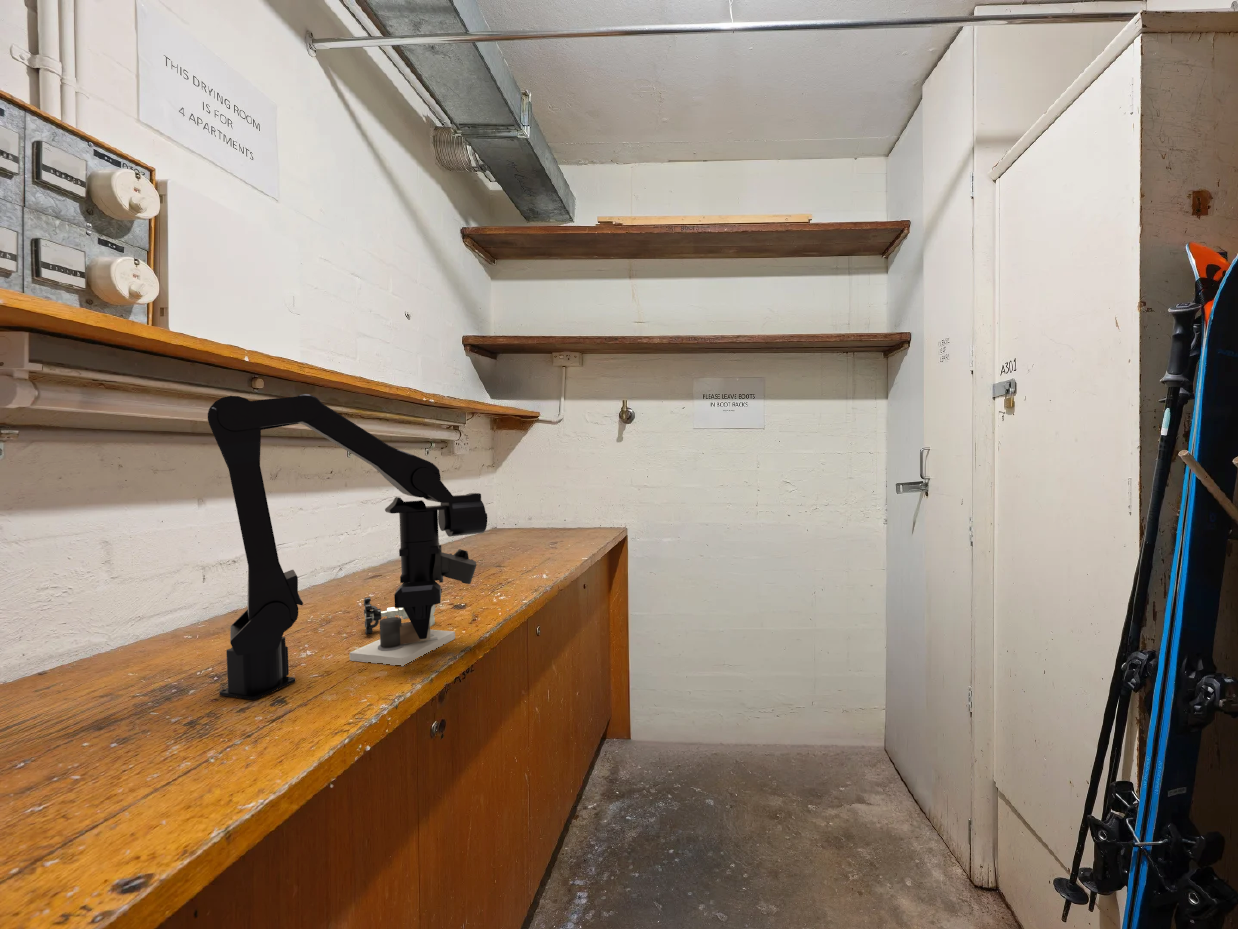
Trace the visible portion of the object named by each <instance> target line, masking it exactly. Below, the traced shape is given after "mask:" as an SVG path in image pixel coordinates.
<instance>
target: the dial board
mask: <svg viewBox="0 0 1238 929" xmlns="http://www.w3.org/2000/svg"><path fill="white" fill-rule="evenodd" d="M430 638H431V639H430V640H424V641H418V642H412V643H406V644H400V645H398V646H394V647H381V646H380V638H379V639H378V640H375V641H372V642H370V643H368V644H366V645H364V646H362V647H361V646H360V647H359V648H357V649H355V650H352V651H350V652H349V654H348V655H349V661H351V662H352V661H353V662H363V663H368V662H371V663H370V664H377V663H383V664H382V665H386V664H390V665H389V666H395V665H401V666H400V667H405V666H406V665H405V664H407V663H409V662H411V661H412V662H414V661H416V660H417V659H416V658H418V657H420V656H422V657H424V656H425V655H424V654H426V653H427V654H429V653H431V652H432V651H431V650H433V651H435V650H437V649H439V648H441V647H442V646H444V645H446V644H448V643H450V642H451V641H453V640H455V639H456V632H455V631H454V630H453V631H452V630H441V629H430ZM443 644H444V645H443ZM438 647H439V648H438ZM436 648H437V649H436ZM430 651H431V652H430ZM428 652H429V653H428ZM427 654H426V655H427ZM423 655H424V656H423ZM420 658H421V657H420ZM415 659H416V660H415ZM418 659H419V658H418ZM413 660H414V661H413ZM412 662H411V663H412ZM409 664H410V663H409ZM404 665H405V666H404ZM407 665H408V664H407Z"/></svg>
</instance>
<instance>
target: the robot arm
mask: <svg viewBox="0 0 1238 929" xmlns="http://www.w3.org/2000/svg"><path fill="white" fill-rule="evenodd" d="M207 422H208V425H209V427H210V430H211V431H212V434H213V436H214V438H215V441H216V444H217V446H218V449H219V451H220V452H221V455H222V457H223V460H224V462H225V465H226V466H227V469H228V473H229V478H230V483H231V488H232V492H233V497H234V503H235V508H236V512H237V517H238V522H239V528H240V532H241V537H242V541H243V547H244V552H245V557H246V562H247V568H248V569H247V572H248V573H247V603H246V604H247V609H246V610H245V611H244V612H243V613H242V614H241V615H240V616H239V617H238V618H237V619H236V620H235V621H234V622H233V623H232V624H230V628H229V629H230V630H229V631H230V633H229V634H230V635H229V636H230V637H229V638H230V641H229V642H230V643H229V644H230V646H231V647H230V648H228V649H226V651H225V652H226V673H227V675H226V676H227V687H226V688H224V689H221V690H220V691H219V692H218V693H219V696H223V697H228V698H229V697H230V698H237V699H244V700H250V701H254V700H255V701H256V700H257V699H260V698H262V697H264V696H267V695H268V694H271V693H273V692H275V691H278V690H280V689H282V688H285V687H287V686H289V685H290V684H293V683H295V682H296V681H297V680H296V677H293V676H290V675H289V674H290V672H289V671H290V668H289V667H290V666H289V647H288V646H287V645H286V637H285V636H284V633H285V632H286V631H288V630H289V629H291V627H293V625H294V624H295V623H296V621H297V620H298V616H299V606H303V605H304V602H303V600H302V598H301V596H300V595H299V591H298V590H299V587H298V585H299V584H298V583H299V582H298V581H299V579H298V577H299V576H298V574H297V573H296V572H295V570H294V569H290V570H288V571H285V572H284V571H283V568H282V566H281V564H280V560H279V555H278V549H277V544H276V539H275V535H274V530H273V524H272V520H271V515H270V510H269V503H268V499H267V494H266V488H265V484H264V478H263V472H262V469H261V468H262V467H261V442H262V441H261V440H262V437H261V436H262V435H261V434H262V433H261V432H262V431H263V430H270V429H271V430H272V429H276V428H282V427H288V426H292V425H298V424H299V425H300V424H301V425H303V426H305V427H307V428H308V429H310V430H311V431H314V432H315V433H317V434H319V435H320V436H322V437H323V438H325V439H326V440H329V441H330V442H332V443H333V444H335V445H337V446H339V447H341V448H342V449H344V450H346V451H347V452H349V453H350V454H352V455H353V456H355V457H357V458H358V459H360V460H362V461H363V462H365V463H367V464H369V465H371V467H373V468H374V469H375V470H376V471H377V472H378V473H379V474H380V475H381V476H383V478H384V479H385V480H386V481H387V482H388V483H390V484H391V485H392V486H393V487H394V488H396V490H398V491H399V492H400V493H402V494H403V495H406V496H410V497H416V498H423V499H425V500H427V501H431V502H435V503H440V505H429V506H428V505H427V506H426V504H425V501H424V500H406V501H404V500H403V499H402V498H401V497H398V496H395V497H394V499H393V501H392V502H391V503H390V504H389V505H388V506H387V507H385V508H384V511H385V512H386V513H389V514H393V515H394V514H399V515H398V516H399V538H400V539H399V540H400V548H399V549H398V552H399V553H398V554H399V557H400V566H401V567H400V569H401V572H400V573H401V574H400V576H399V578H400V579H399V581H400V585H399V587H398V588H397V589H396V591H395V592H394V594H393V595H394V597H393V598H394V607H395V609H397V608H404V610H405V612H406V614H407V616H408V617H409V622H411V623H412V625H413V627H414V629H415V631H416V633H417V635H418V637H419V639H426V638H427V634H428V627H429V621H430V615H431V609H432V606H433V605H435V606H436V605H438V604H441V603H442V592H443V588H442V586H441V583H444V578H448V579H452V580H455V581H459V582H461V583H462V584H465V585H466V584H467V585H471V583H472V580H473V578H474V574H475V571H476V568H477V561H475V560H474V559H473V558H472V559H470V558H469V553H468V552H469V551H467V550H465V549H461V548H459V549H458V550H456V552H454V553H453V554H452V553H446V552H443V551H442V544H440V539H439V536H440V535H439V529H440V531H441V532H445V534H446V536H448V537H457V536H459V537H461V536H468V535H479V534H484V533H485V532H486V529H487V526H488V513H487V512H486V507H485V505H484V502H483V500H482V494H481V493H480V492H479V493H477V492H470V493H467V494H460V495H459V494H457V495H453V493H451V491H449V489H448V488H447V487H446V485H445V484H444V483H443V481H442V479H441V472H440V469H439V468H438V466H436V465H435V463H433V462H431V461H429V460H427V459H424V458H421V457H420V456H417V455H414V454H412V453H409V452H406V451H403V450H401V449H399V448H396V447H393V446H391V445H389V444H388V443H386V442H384V441H383V440H381V439H379V438H377V437H376V436H374V435H373V434H372V433H370V432H369V431H367V430H365V429H363V428H362V427H360V426H359V425H357V424H355V422H353V421H351V420H350V419H348V418H346V417H345V416H343V415H342V414H340V413H338V412H337V411H335V410H334V409H332V408H330V407H329V406H327V404H324V403H323V402H321V401H320V399H319V398H318V397H316V396H314V395H312V394H308V393H303V394H299V395H295V396H289V397H279V398H266V399H258V400H257V399H256V400H249V399H248V398H245V397H242V396H239V395H229V396H223V397H221V398H219V399H217V400H215V401H214V402H213V403H212V405H211V406H210V407H209V409H208V412H207ZM436 581H438V582H436ZM439 583H440V584H439Z"/></svg>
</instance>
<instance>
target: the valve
mask: <svg viewBox="0 0 1238 929" xmlns="http://www.w3.org/2000/svg"><path fill="white" fill-rule="evenodd" d="M363 606H364V610H363V615H364V620H365V621H364V628H365V629H364V630H365V635H372V634H373V629H374V628H376V627H377V626H378V625H379V624H380V620H382V618H383V617H386V618H391V617H396V616H398V617H399V618H401V619H402V620H407V619H409V617H408V616H407V614H406V612H405V610H404V608H395V606H392V607H387V608H386V610H381V608H378V607H377V606H375V605H373V604H372V603H371V596H368V597H364V600H363ZM435 612H436V605H433V606H432V609H431V615H430V628H431V627H432V626H433V625H435V624H436V621H435V620H436V619H435V615H434V614H435ZM409 620H410V619H409ZM374 621H375V622H374ZM373 622H374V623H373Z"/></svg>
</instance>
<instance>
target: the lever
mask: <svg viewBox="0 0 1238 929" xmlns="http://www.w3.org/2000/svg"><path fill="white" fill-rule="evenodd" d="M430 630H431V627H430V621H429V627H428V634H427V638H426V639H419V637H418V635H417V633H416V631H415V629H414V627H413V625H412V623H411V621H407V622H406V621H405V622H402V617H399V616H397V617H396V616H395V617H391V618H387V617H386V618H381V620H379V639H380V646H381V647H394V646H398V645H400V644H406V643H412V642H418V641H424V640H430V639H431V638H430Z"/></svg>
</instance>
